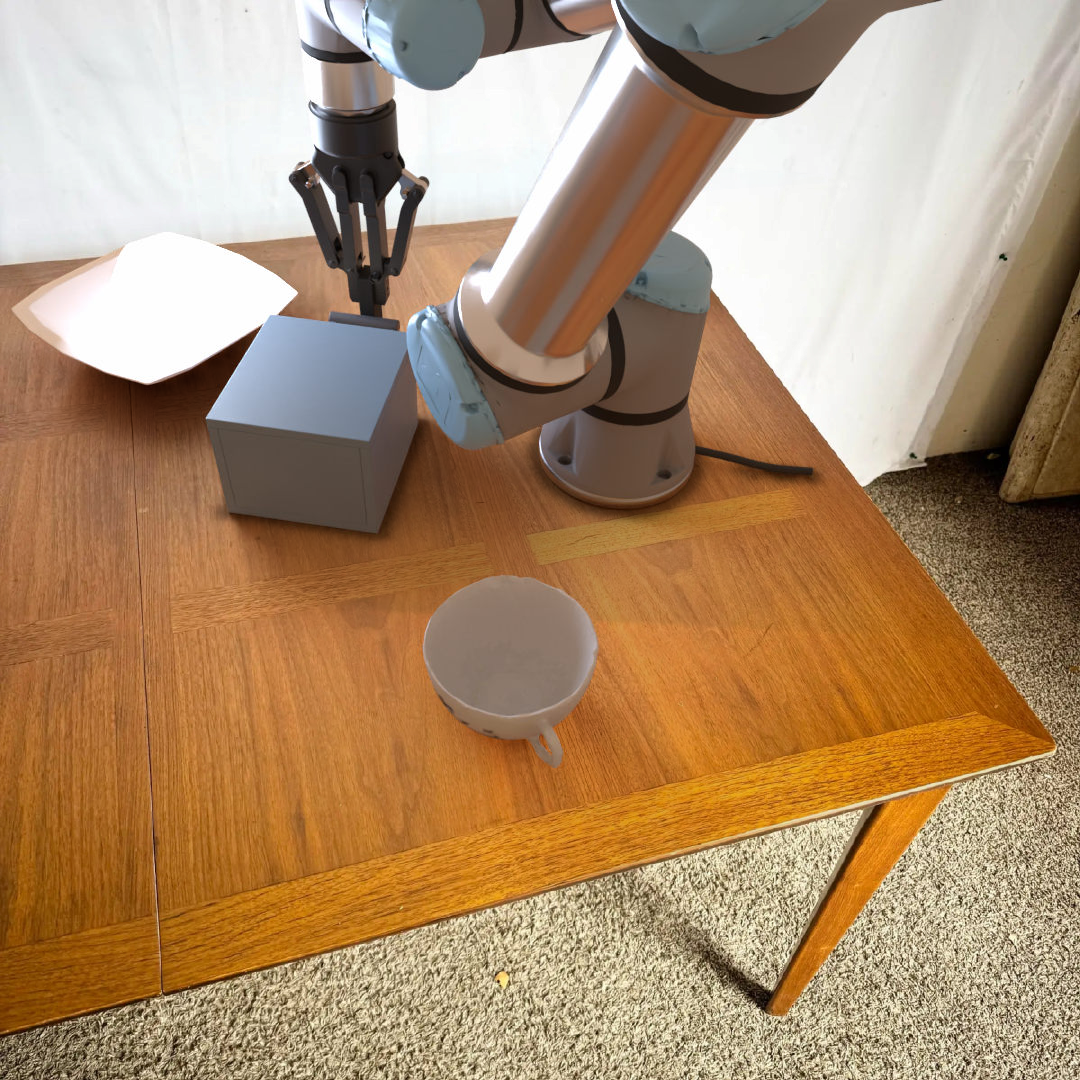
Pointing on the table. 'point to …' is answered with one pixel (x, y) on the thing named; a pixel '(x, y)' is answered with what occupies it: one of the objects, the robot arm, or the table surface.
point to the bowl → (154, 307)
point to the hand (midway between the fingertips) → (372, 327)
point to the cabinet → (316, 423)
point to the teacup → (511, 659)
